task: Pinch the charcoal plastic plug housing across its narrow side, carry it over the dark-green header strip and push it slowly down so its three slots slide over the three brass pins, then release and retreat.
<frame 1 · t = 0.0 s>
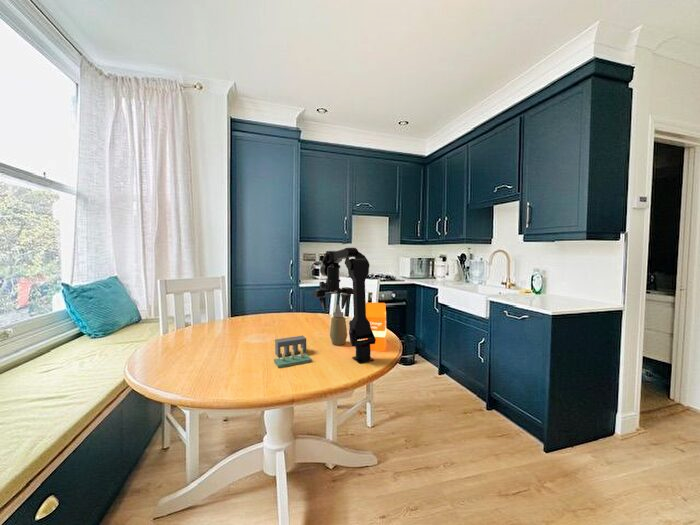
hand: (333, 309, 142), 15 cm above the table, fingers open, 9 cm apart
plug housing: (291, 353, 126), on the table
orange juice: (375, 348, 132), on the table
header strip: (292, 361, 116), on the table
squeeze bottle: (338, 343, 138), on the table
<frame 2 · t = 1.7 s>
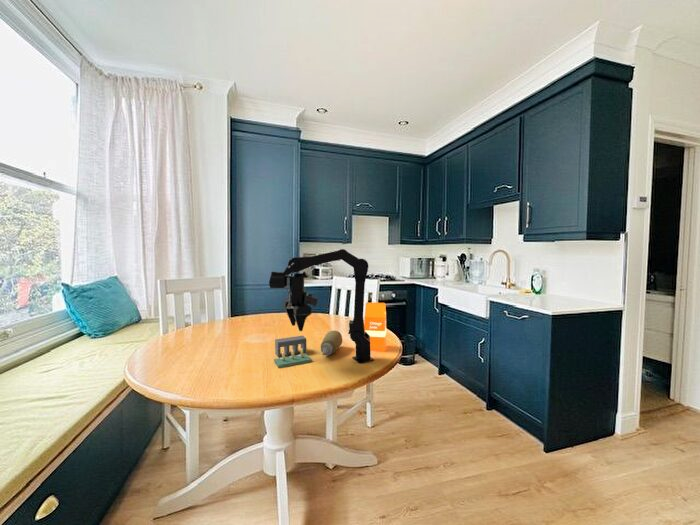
hand: (297, 328, 118), 12 cm above the table, fingers open, 9 cm apart
squeeze bottle: (335, 336, 134), point 4 cm above the table
everything else where it was.
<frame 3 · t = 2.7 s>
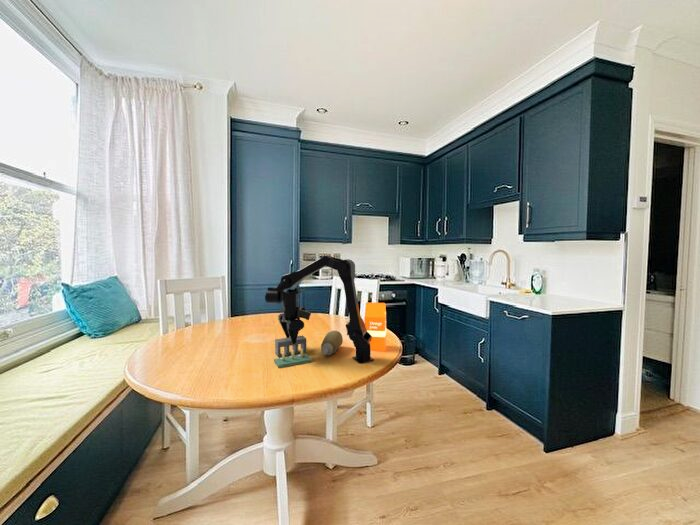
hand: (291, 340, 125), 5 cm above the table, fingers open, 9 cm apart
nothing on the table moved.
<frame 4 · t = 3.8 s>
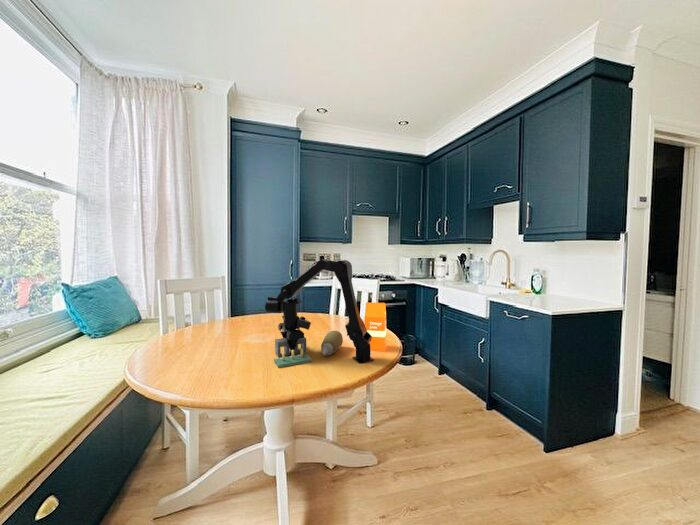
hand: (290, 350, 126), 1 cm above the table, fingers closed on plug housing, 5 cm apart
plug housing: (290, 352, 126), on the table, touching gripper
everything else where it was.
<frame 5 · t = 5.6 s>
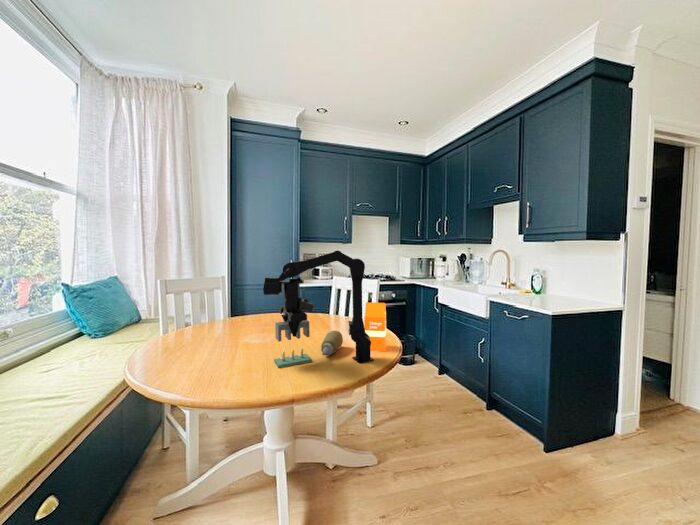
hand: (292, 334, 116), 10 cm above the table, fingers closed on plug housing, 5 cm apart
plug housing: (292, 337, 116), point 9 cm above the table, touching gripper
everything else where it was.
when the fingers open (3 cm above the table, at t = 7.8 s): plug housing stays where it is, resting on header strip.
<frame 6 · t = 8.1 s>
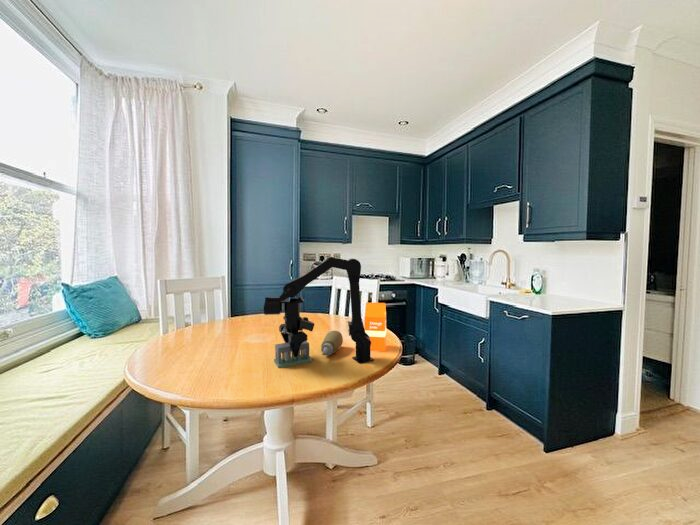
hand: (292, 354, 116), 3 cm above the table, fingers open, 7 cm apart
plug housing: (292, 359, 116), point 1 cm above the table, touching header strip
everything else where it was.
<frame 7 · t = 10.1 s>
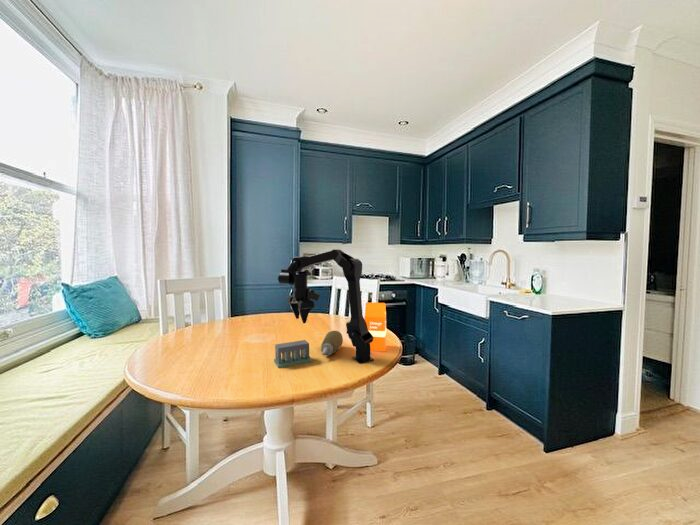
hand: (300, 320, 131), 12 cm above the table, fingers open, 9 cm apart
nothing on the table moved.
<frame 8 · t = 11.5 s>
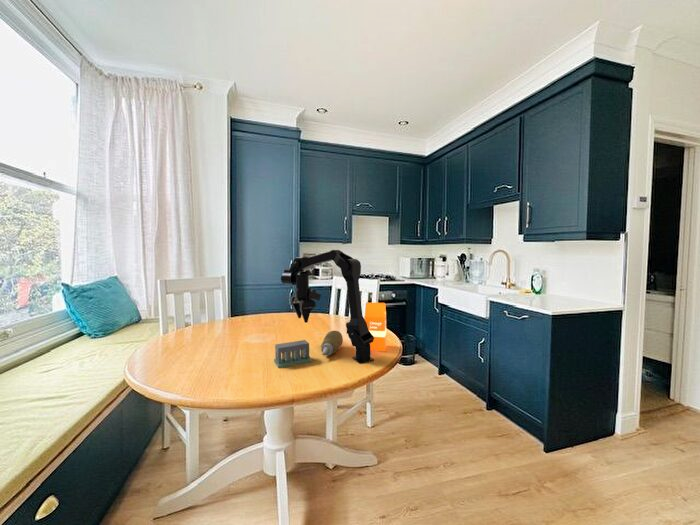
hand: (302, 320, 133), 12 cm above the table, fingers open, 9 cm apart
nothing on the table moved.
at the end: plug housing 0.2 cm off-centre on the header strip, point 1.0 cm above the header strip's base; plug housing tilted 0°; the gripper is holding nothing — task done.
